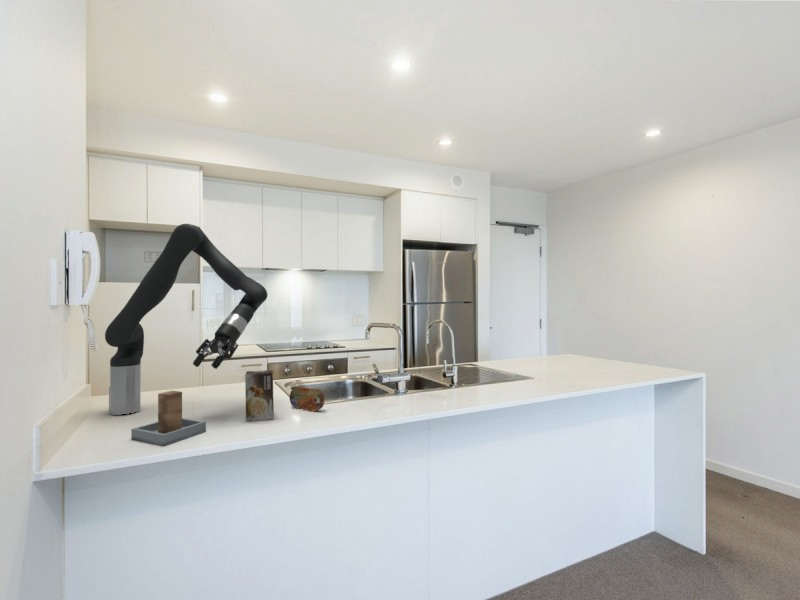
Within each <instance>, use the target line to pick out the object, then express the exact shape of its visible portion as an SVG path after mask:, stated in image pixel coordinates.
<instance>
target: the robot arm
mask: <svg viewBox="0 0 800 600" xmlns="http://www.w3.org/2000/svg"><path fill="white" fill-rule="evenodd" d="M191 252H193V253H195V254H196V255H198V256H199V257H201V258H202V259H203V260H204V261H205V262H206V263H207V264H208V265H209V267H211V269H212V270H213V271H214V272H215V274H216V275H217V276H218V277H219V278H220V279H221V280H222V281H223V282H224V283H225V284H226V285H227V286H229V287H230V288H231V289H232V290H233V291H239V290H240V291H241V292H244V293H245V294H244V295H243V296H242V297H241V298H240V300H239V303H238V304H237V305H236V306H235V307H234V309H233V310H232V311H231V312H230V314H229V315H228V316H227V317H226V318H225V319H224V320H223V322H222V323H221V324H220V325H219V327H218V328H217V329H216V331H215V332H214V338H213V339H212V340H209V339H208V338H206V339H205V340H204V341H203V342H202V343H201V344H200V346H199V347H198V348H197V349H196V350H195V353H196V354H197V356H196V357H195V359H194V360H193V362H192V365H193V366H195V367H196V368H198V367H200V365H201V364H202V363H203V361H205V358H207V357H208V356H212V355H213V354H218V355H217V356H216V358H215V359H214V360H213V362H212V363H211V367H212V368H213V369H214V370H215V369H218V368H219V367H220V366H221V364H222V363H223V361H225V360H226V359H228V360H230V359H232V357H233V355H234V353H235V352H236V350H237V349H238V348H239V344H238V342H237V341H238V340H239V338H240V337H241V335H242V334H243V333H244V332H245V330H246V328H247V326H248V324H249V323H250V322H251V320H252V319H253V317H254V314H255V313H256V311H257V310H258V309H259V308H260V307H261V305H262V304H264V302H266V300H267V298H268V291H267V289H266V288H265V286H263V285H262V284H261V283H259V282H257V281H256V280H255V279H253V278H251V277H249V276H247V275H246V274H245V273H244V272H243V271H242V270H241V269H239V268H238V266H237V265H235V264H234V263H233V262H232V261H230V260H229V258H227V257H226V256H225V255H224V254H223V253H222V252H221V251H220V250H219V249H218V248H217V247H216V246H215V245H214V244H213V243H212V242H211V239H209V237H208V236H207V234H205V232H204V231H203V229H201V227H199V226H197V225H194V224H191V223H182V224H179V225H177V226H176V227H175V228H174V230H173V231H172V233H171V234H170V237H169V239H168V241H167V242H166V244H165V247H164V249H163V250H162V252H161V253H160V255H159V256H158V257H157V258H156V260H155V261H154V262H153V264H152V266H150V268H149V270H148V271H147V272H146V274H145V276H144V277H143V278H142V280H141V281H140V282H139V284H138V286H137V288H136V289H135V290H134V292H133V293H132V294H131V297H130V298H129V300H128V301H127V303H126V304H124V307H123V308H122V309H121V310H120V312H118V313H117V315H116V316H115V317H114V318H113V320H112V321H111V322H110V323H109V324H108V326H107V328H106V329H105V332H104V339H105V342H106V344H107V345H109V346H110V347H113V348H117V350H116V352H115V354H113V355H112V356H111V358H110V360H109V371H110V372H109V381H110V382H109V387H108V413H109V412H110V413H109V414H110V415H111V416H123V415H122V414H127V415H130V414H129V413H132V414H135V413H134V412H136V413H138V412H137V411H139V410H140V411H141V403H142V402H141V400H142V399H141V398H142V397H141V389H142V388H141V387H142V386H141V384H142V383H141V382H142V381H141V378H142V377H141V375H142V374H141V371H142V370H141V368H142V367H141V363H142V362H141V360H142V357H143V355H144V343H145V332H144V328H143V325H141V323H140V322H141V321H142V319H143V318H144V317H145V316H146V315H148V314H149V313H150V312H151V311H152V310H153V309H155V308H156V306H159V304H160V303H161V302H162V301H163V300H164V299H165V298H166V296H167V295H168V294H169V292H170V291H171V289H172V287H173V286H174V284H175V282H176V280H177V277H178V274H179V270H180V268H181V265H182V264H183V262H184V261H185V260H186V259H187V256H188V255H190V254H191ZM140 411H139V412H140Z"/></svg>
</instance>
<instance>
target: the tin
mask: <svg viewBox="0 0 800 600" xmlns="http://www.w3.org/2000/svg"><path fill="white" fill-rule="evenodd" d="M289 402H290V404H291V407H293V409H295V408H296V409H295V410H298V409H303V410H302V411H306V410H308V411H307V412H312V411H313V412H316V411H319V410H320V409H322V408H323V407H324V405H325V394H324V392H323V390H321V389H320V388H317V387H308V386H295V387H293V388H292V389H291V391H290V393H289Z"/></svg>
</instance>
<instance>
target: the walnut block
mask: <svg viewBox="0 0 800 600" xmlns="http://www.w3.org/2000/svg"><path fill="white" fill-rule="evenodd" d="M157 396H158V397H157V422H158V433H163V434H166V433H169V432H172V431H175V430H178V429H182V418H183V391H178V390H169V391H165V392H160V393H158V395H157Z"/></svg>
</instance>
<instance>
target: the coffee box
mask: <svg viewBox="0 0 800 600" xmlns="http://www.w3.org/2000/svg"><path fill="white" fill-rule="evenodd" d="M244 376H245V378H244V380H245V387H244V389H245V422H257V421H266V420H267V421H269V420H274V418H275V417H274V416H275V415H274V414H275V413H274V411H275V409H274V405H275V404H274V403H275V401H274V370H272V369H271V370H269V369H268V370H250V371H249V370H248V371H246V372H245V375H244Z"/></svg>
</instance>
